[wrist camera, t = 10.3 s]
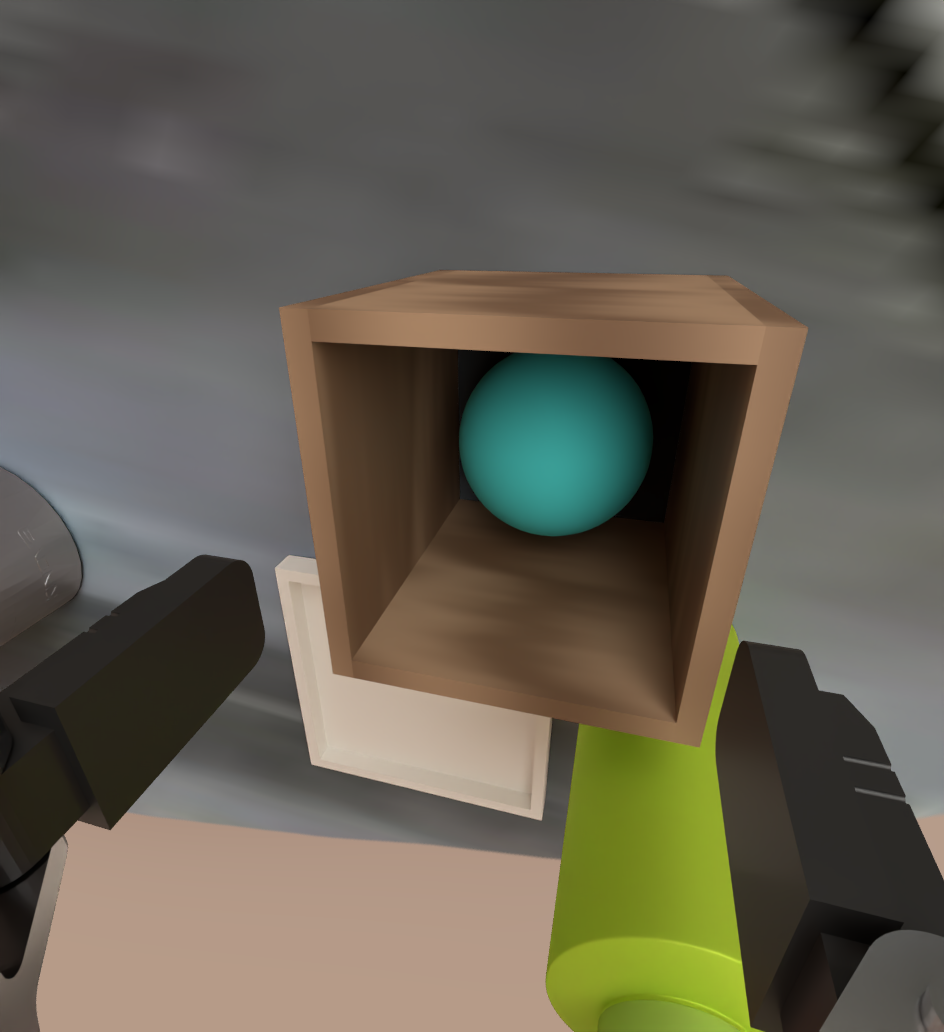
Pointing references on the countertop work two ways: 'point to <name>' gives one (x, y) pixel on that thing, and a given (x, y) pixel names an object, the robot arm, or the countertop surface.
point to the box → (509, 551)
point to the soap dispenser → (647, 888)
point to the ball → (555, 441)
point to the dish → (407, 721)
